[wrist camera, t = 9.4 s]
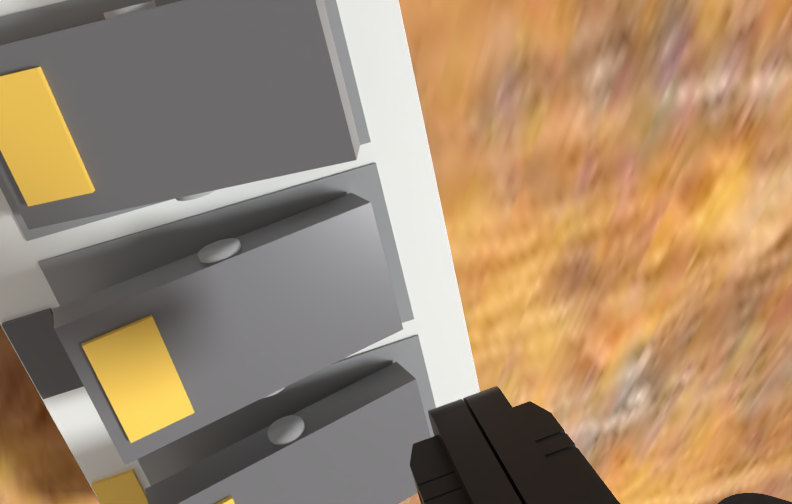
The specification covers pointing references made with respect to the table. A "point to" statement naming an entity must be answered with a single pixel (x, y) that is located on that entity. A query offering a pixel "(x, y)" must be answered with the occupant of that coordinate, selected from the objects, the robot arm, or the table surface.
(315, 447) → the rocker
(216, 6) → the rocker
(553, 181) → the table surface
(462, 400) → the robot arm
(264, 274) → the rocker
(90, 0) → the switch box
